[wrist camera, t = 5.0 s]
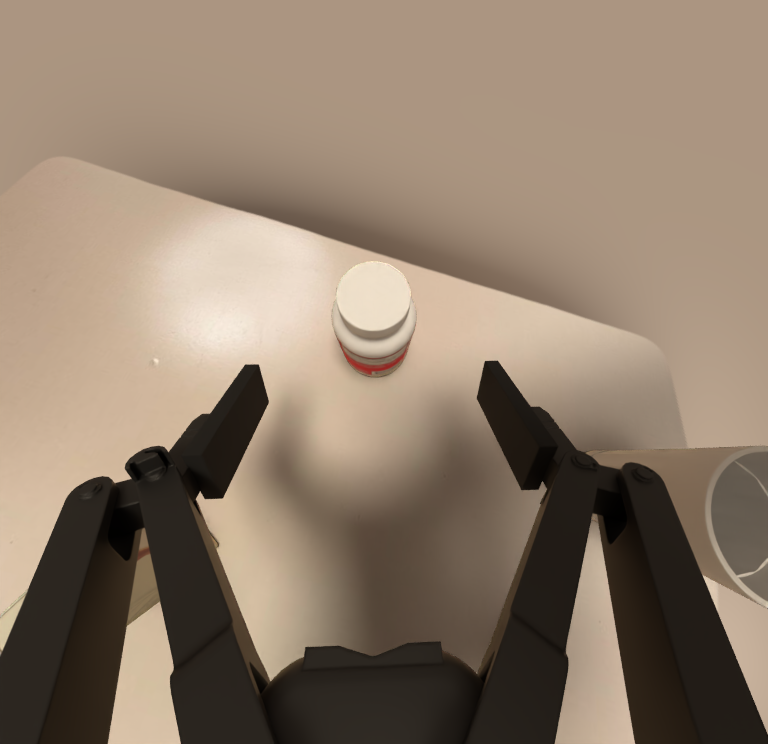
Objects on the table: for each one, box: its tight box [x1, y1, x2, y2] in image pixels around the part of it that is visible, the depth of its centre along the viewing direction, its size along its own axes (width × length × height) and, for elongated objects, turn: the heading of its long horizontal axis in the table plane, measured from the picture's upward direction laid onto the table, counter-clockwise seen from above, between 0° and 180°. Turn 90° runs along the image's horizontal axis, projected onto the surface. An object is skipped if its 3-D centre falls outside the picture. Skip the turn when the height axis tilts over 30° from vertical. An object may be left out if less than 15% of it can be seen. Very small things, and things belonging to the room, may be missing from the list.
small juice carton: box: [0, 528, 218, 655], centre depth 20 cm, size 5×4×10 cm
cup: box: [586, 446, 768, 609], centre depth 20 cm, size 8×8×12 cm
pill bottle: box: [332, 261, 416, 377], centre depth 23 cm, size 6×6×11 cm
